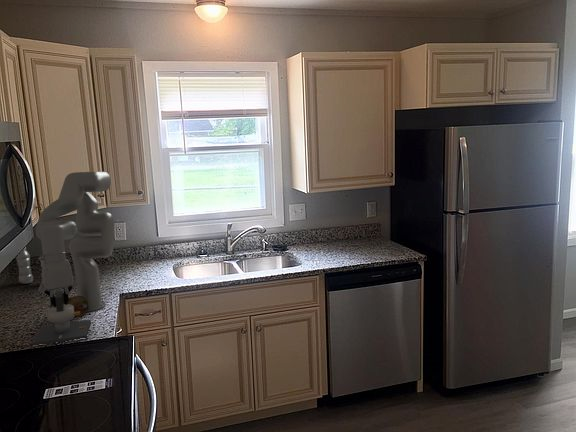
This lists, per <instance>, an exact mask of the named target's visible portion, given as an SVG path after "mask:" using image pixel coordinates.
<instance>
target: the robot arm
mask: <svg viewBox="0 0 576 432" xmlns="http://www.w3.org/2000/svg"><path fill="white" fill-rule="evenodd" d="M111 185H112V179H111V176H110V175H109V173H108V172H106V171H78V172H77V171H75V172H71V173H69V174H66V177H65V179H64V181H63V184H62V187H61V189H60V191H59V192H60V193H59V195H58V198H57V199H56V200H54V201H53V202H50V204H49V205H47V206H46V207H45V208H44V209H43V210H42V211H41V213H40V214H39V217H38V221H37V223H36V226H35V234H36V237H37V239H39V240H41V242H40V243H41V249H42V255H40V256H38V260H39V261H41V260H43V261H44V262H42V267H41V283H40V285H39V287H38V290H37V291H38V292H39V293H43V294H45V295H47V296H48V297H49V300H50V305H53V306H54V307H56V300H55V296H56V295H55V294H54V293H55V290H57V289H63V299H64V304H65V305H68V302H69V297H70V296H69V294H70V292H71V291H72V290H73V288H76V296H82V297H84V298H86V299H87V301H88V303H89V307H88V311H87V312H89V313H90V312H95V311H98V310H101V309H103V308H104V307H106V306H107V305H106V301H104V300H102V296H101V295H102V293H101V283H100V274H99V273H100V272H99V266H98V263H96V261H95V260H94V259H105V258H110V257H111V256H112V254H113V251H114V242H115V240H114V239H115V229H116V228H115V225H116V224H115V219H114V216H113V215H112V214H111V212H108V211H103V212H102V211H100V212H99V202H98V200H97V199H96V198H95V196H93V194H91V193H98V192H105V191H109V189H110V188H111ZM75 211H76V217H75V221H73V220H70V219H66V220H65V219H64V220H63V219H62V220H59V219H58V218H61V217H62V216H65V215H68V214H70V213H72V212H75ZM56 219H58V220H56ZM77 234H80V235H83V236H78V237H76V236H77ZM84 235H85V236H84ZM86 235H87V236H86ZM68 240H69V241H70V240H71V241H70V242H69V252H70V256H71V259H72V262H73V269H74V276H75V277H74V276H73V271H72V266H71V263H70V260H69V259H68V258H67V255H66V246H65V241H68ZM87 312H86V313H87Z"/></svg>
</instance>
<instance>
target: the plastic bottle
mask: <svg viewBox="0 0 576 432" xmlns="http://www.w3.org/2000/svg"><path fill="white" fill-rule="evenodd" d="M15 259H16V263H17V267H18V282H19V283H20V284H23V285H27V284H30V283H32V282H33V281H34V276H33V274H32V269H31V254H30V253H29V251H27V246H26V247H25V248H24V249H23V250H22V251H21V252H20V254H18V256H17V257H16V256H15Z"/></svg>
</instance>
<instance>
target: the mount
mask: <svg viewBox="0 0 576 432" xmlns="http://www.w3.org/2000/svg"><path fill="white" fill-rule="evenodd" d="M90 324H91V325H92V319H86V320H85V319H84V320H76V321H70V320H69V321H66V322H61V323H51V324H46V325H41V326H40V328H39V329H38V331H37V333H36V336H35V337H34V339H33V340H32V346H33V345H39V344H49V345H51V344H50V343H56V342H64V341H69V340H74V339H80V338H87V339H88V336H87V334H88V335H89V333H88V331H89V332H90V329H89V328H91V325H90ZM64 343H65V342H64Z"/></svg>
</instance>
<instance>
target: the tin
mask: <svg viewBox="0 0 576 432" xmlns="http://www.w3.org/2000/svg"><path fill="white" fill-rule="evenodd" d="M68 297H69V302H68V304H71V305H73V306H74V312H79V311H80V315H76V316H75V317H74V318H77V317H78V318H79V317H82V316H84V315H86V314H87V311H88V307H89V303H88V301H87V299H86V298H84V297H82V296H77V295H75V296H68ZM51 307H53V305H51V304H50V305H49V308H51ZM49 308H48V309H49Z"/></svg>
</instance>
